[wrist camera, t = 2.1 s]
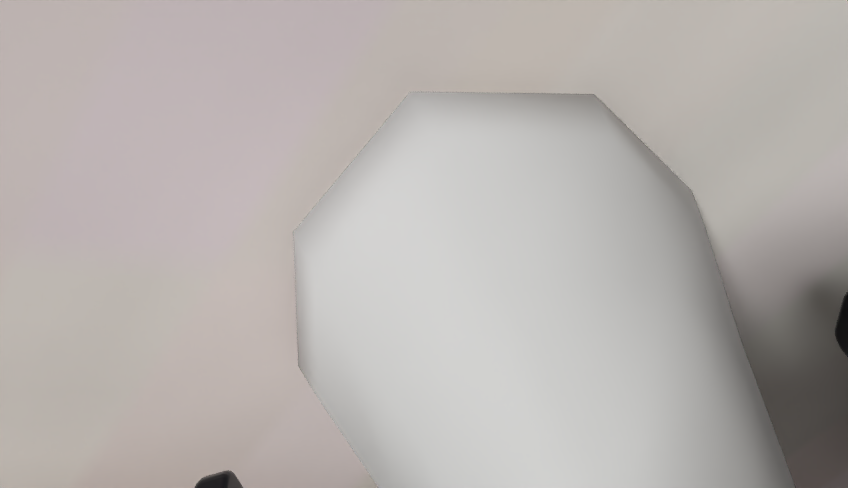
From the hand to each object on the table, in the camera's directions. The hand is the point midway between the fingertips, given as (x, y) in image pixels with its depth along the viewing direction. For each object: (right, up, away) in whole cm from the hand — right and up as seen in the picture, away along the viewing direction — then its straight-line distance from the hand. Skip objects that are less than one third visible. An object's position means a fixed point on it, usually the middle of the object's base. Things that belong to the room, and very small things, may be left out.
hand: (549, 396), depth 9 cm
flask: (-1, +2, +3) cm, 3 cm away
